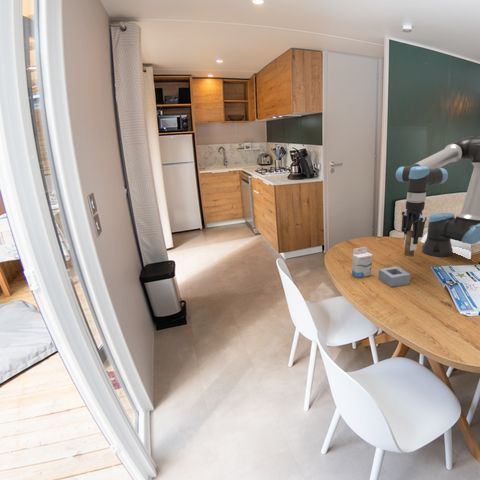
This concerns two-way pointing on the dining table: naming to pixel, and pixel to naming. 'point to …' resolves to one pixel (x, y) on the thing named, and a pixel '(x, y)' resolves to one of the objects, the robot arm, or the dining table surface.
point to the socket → (394, 276)
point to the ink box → (361, 262)
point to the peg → (408, 244)
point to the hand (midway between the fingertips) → (409, 248)
